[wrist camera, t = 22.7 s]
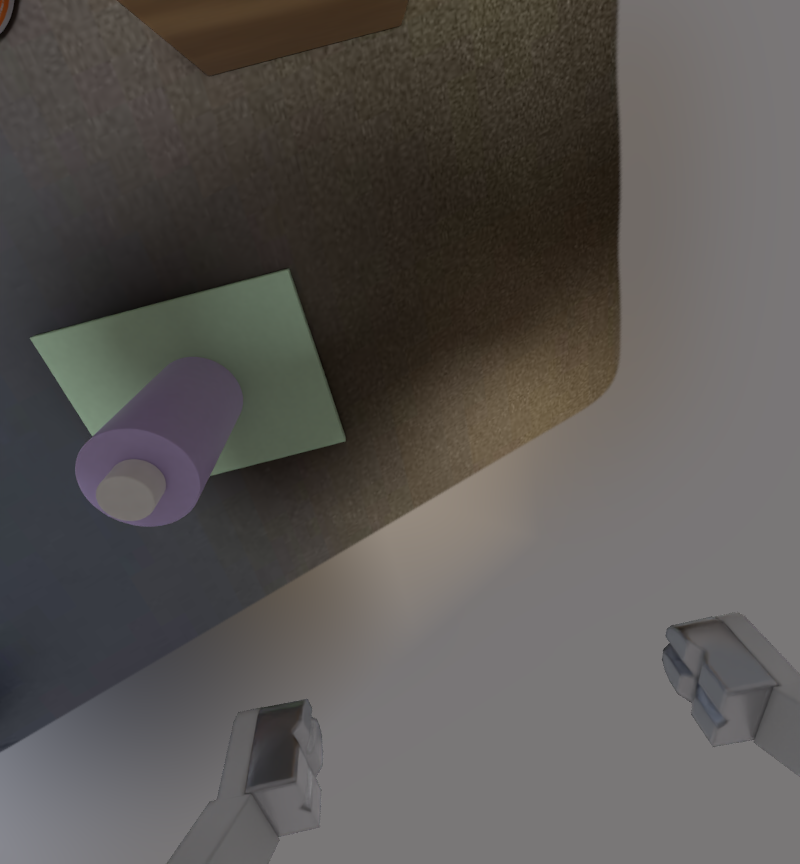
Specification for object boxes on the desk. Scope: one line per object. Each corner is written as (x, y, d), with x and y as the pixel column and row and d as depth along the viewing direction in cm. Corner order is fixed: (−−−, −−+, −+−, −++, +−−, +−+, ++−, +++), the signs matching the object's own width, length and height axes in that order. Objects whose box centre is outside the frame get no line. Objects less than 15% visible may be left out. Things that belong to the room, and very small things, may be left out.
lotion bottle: (240, 358, 29) (182, 447, 19) (245, 434, 32) (197, 547, 22) (150, 354, 29) (40, 443, 18) (163, 431, 31) (72, 548, 21)
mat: (289, 267, 28) (288, 269, 27) (346, 437, 33) (345, 441, 33) (35, 335, 28) (29, 337, 27) (133, 491, 34) (130, 496, 33)
